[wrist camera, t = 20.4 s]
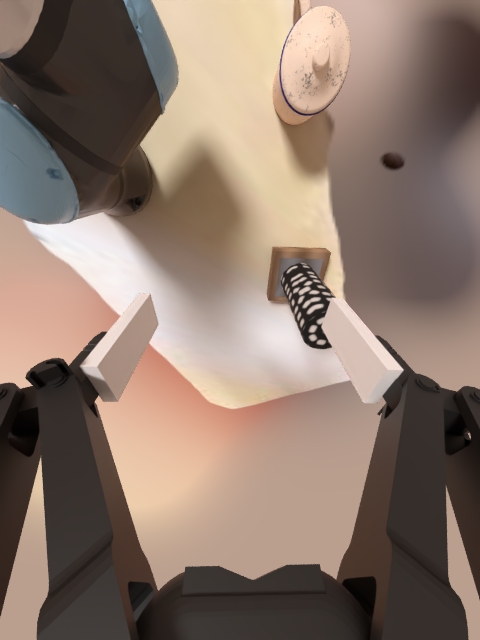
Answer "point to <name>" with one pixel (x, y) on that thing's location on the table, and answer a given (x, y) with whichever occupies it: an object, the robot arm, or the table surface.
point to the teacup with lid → (311, 63)
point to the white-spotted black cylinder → (307, 302)
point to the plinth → (289, 257)
